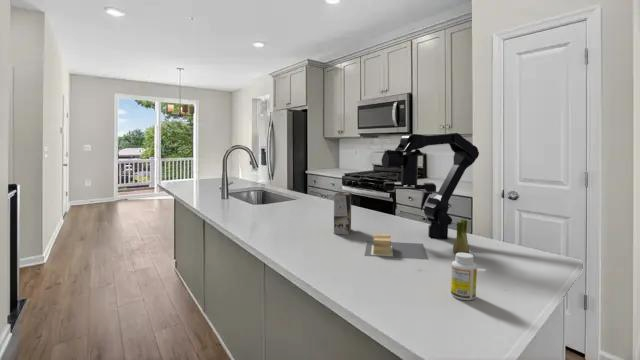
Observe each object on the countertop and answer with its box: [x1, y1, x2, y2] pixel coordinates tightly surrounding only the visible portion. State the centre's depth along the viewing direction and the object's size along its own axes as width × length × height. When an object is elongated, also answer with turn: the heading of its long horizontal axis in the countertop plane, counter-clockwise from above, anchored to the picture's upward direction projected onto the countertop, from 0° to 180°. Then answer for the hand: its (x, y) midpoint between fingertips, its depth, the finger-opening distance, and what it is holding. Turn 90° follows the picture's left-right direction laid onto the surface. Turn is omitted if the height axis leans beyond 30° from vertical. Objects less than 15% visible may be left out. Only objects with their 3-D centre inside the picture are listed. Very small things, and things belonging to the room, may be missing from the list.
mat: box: [363, 240, 429, 260], centre depth 121 cm, size 20×18×1 cm
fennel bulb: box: [452, 219, 470, 256], centre depth 115 cm, size 6×5×12 cm
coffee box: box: [333, 191, 352, 235], centre depth 147 cm, size 9×6×16 cm
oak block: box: [373, 233, 392, 255], centre depth 119 cm, size 9×6×4 cm, turn 170°
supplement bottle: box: [450, 252, 478, 301], centre depth 84 cm, size 6×6×10 cm
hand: (408, 209), depth 132 cm, fingers open, 9 cm apart
